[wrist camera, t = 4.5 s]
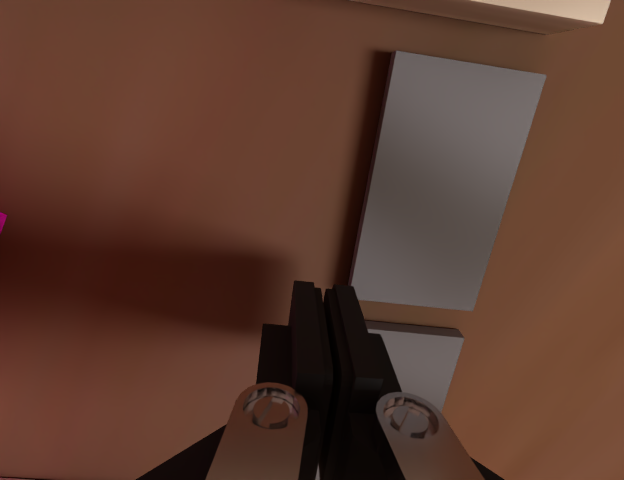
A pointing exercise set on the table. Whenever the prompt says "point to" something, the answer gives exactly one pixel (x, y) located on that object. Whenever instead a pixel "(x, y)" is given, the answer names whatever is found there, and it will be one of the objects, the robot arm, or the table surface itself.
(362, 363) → the robot arm
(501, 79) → the channel
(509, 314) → the table surface
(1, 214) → the toy block
